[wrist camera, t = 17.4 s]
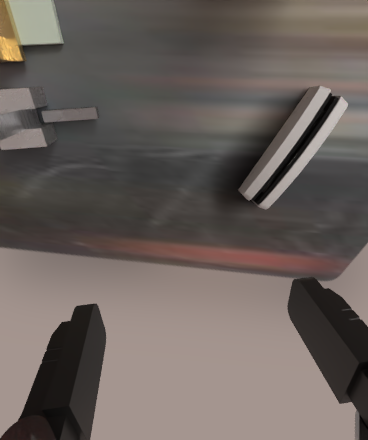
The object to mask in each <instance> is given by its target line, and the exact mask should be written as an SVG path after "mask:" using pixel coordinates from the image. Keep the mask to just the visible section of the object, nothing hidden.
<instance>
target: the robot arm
mask: <svg viewBox="0 0 368 440" xmlns="http://www.w3.org/2000/svg"><path fill="white" fill-rule="evenodd" d="M288 313H289V316H290V319H291V321H292V323H293V324H294V326H295V328H296V329H297V331H298V333H299V335H300V336H301V338H302V340H303V341H304V343H305V345H306V346H307V348H308V350H309V352H310V353H311V355H312V357H313V359H314V360H315V362H316V364H317V365H318V367H319V369H320V371H321V372H322V374H323V376H324V378H325V379H326V381H327V382H328V384H329V386H330V388H331V389H332V391H333V393H334V394H335V396H336V398H337V400H338V401H339V403H340V404H341V403H348V402H352V403H353V404H354V406H355V407H356V409H357V411H356V414H355V440H368V327H367V325H366V324H365V323H364V322H363V321H362V320H360V319H359V316H358V315H357V314H356V313H355V312H354V311H353V310H352V309H351V307H350V306H349V305H348V304H347V303H346V301H345V300H344V299H343V298H342V297H341V296H339V295H338V294H336V293H335V292H333V291H332V290H330V289H329V288H328V289H324V288H323V287H322V286H321V284H320V283H319V282H318V281H317V280H316V279H315V278H314V277H309V278H301V279H294V280H293V282H292V287H291V291H290V296H289V301H288ZM105 345H106V332H105V327H104V324H103V321H102V317H101V314H100V311H99V308H98V305H97V304H88V305H81V306H76V307H75V309H74V312H73V315H72V318H71V321H67V322H62V323H61V324H60V325H59V327H58V328H57V329H56V330H55V332H54V333H53V334H52V336H51V338H50V341H49V344H48V346H47V351H46V352H45V354H44V357H43V359H42V364H41V365H40V368H39V370H38V373H37V375H36V378H35V381H34V383H33V386H32V388H31V391H30V394H29V396H28V399H27V402H26V404H25V407H24V410H23V412H22V414H21V416H20V418H19V420H18V421H17V422H16V423H14V424H13V425H12V426H11V427H10V428H9V429H8V430H7V431H6V432H5V433H4V434H3V435H2V437H1V438H0V440H90V437H91V431H92V424H93V418H94V412H95V406H96V400H97V394H98V388H99V381H100V376H101V370H102V364H103V357H104V351H105Z"/></svg>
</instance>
